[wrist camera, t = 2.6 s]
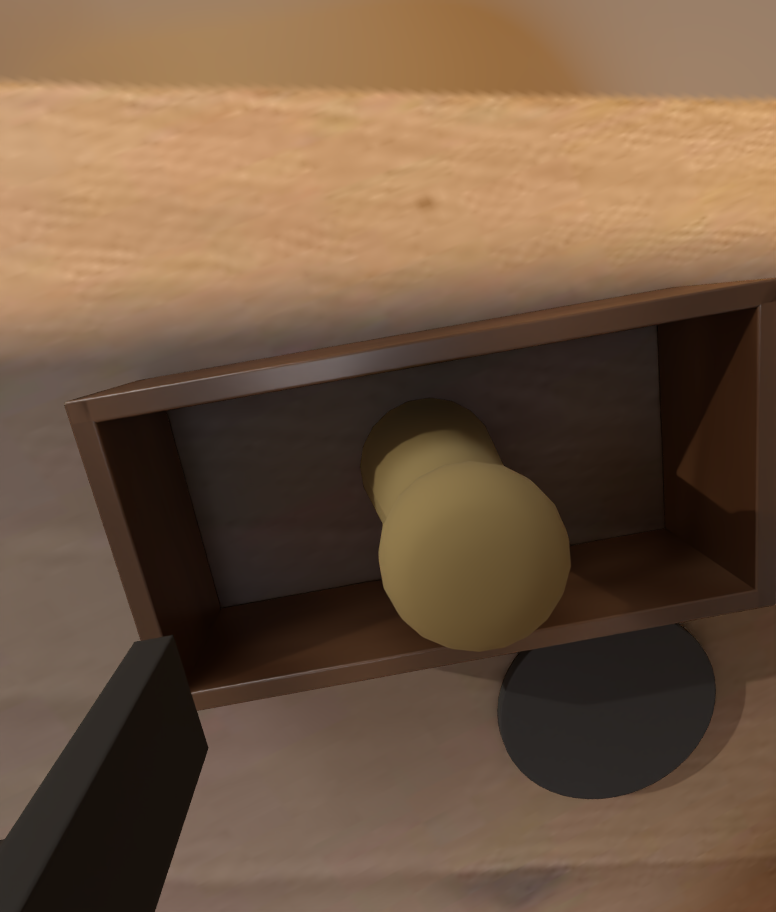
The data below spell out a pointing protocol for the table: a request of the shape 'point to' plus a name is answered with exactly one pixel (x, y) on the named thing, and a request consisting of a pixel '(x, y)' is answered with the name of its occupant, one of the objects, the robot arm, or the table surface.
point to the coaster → (607, 710)
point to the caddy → (367, 604)
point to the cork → (461, 529)
